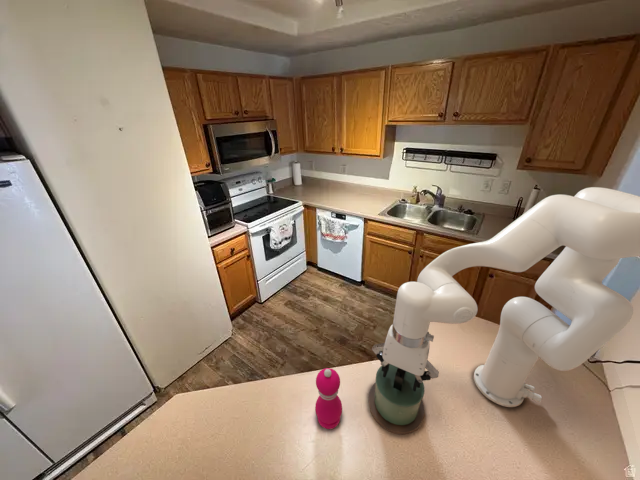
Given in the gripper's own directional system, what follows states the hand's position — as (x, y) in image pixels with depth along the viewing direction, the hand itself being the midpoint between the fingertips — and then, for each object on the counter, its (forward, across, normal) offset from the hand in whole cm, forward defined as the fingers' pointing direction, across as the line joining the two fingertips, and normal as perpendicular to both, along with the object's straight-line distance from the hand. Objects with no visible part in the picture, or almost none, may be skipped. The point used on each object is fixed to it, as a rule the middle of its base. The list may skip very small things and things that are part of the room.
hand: (400, 379), depth 68 cm
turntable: (+12, 0, 0) cm, 12 cm away
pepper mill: (+12, +15, +12) cm, 23 cm away
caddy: (+10, 0, 0) cm, 10 cm away
